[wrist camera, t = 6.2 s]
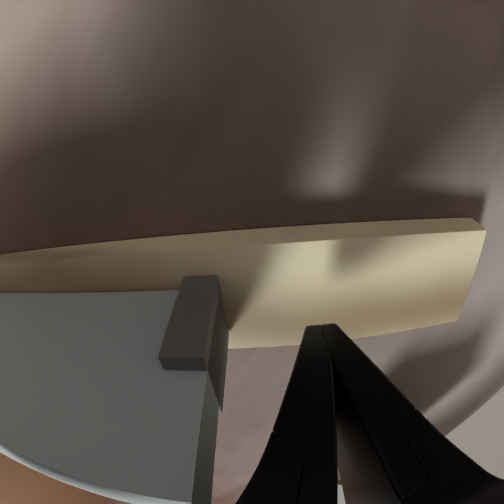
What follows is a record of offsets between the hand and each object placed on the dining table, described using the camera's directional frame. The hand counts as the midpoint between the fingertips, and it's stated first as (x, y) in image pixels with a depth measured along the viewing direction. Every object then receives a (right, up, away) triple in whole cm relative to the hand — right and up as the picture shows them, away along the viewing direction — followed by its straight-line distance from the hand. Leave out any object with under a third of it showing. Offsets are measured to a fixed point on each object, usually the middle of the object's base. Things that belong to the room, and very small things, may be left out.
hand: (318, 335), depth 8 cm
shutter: (-9, 0, +2) cm, 9 cm away
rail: (-7, +1, +2) cm, 7 cm away
